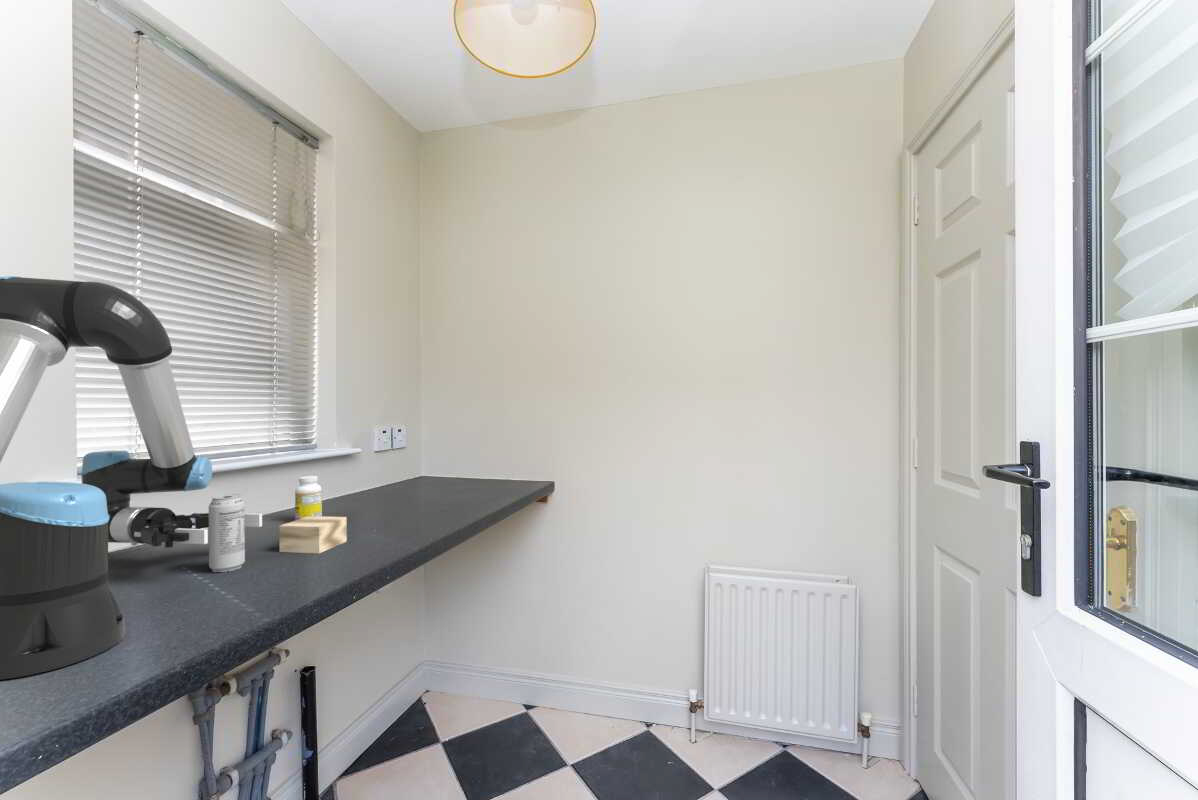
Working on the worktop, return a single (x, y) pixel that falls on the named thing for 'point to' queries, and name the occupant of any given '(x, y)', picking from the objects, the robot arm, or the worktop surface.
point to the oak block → (312, 534)
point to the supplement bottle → (308, 498)
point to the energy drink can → (226, 533)
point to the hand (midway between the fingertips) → (235, 528)
